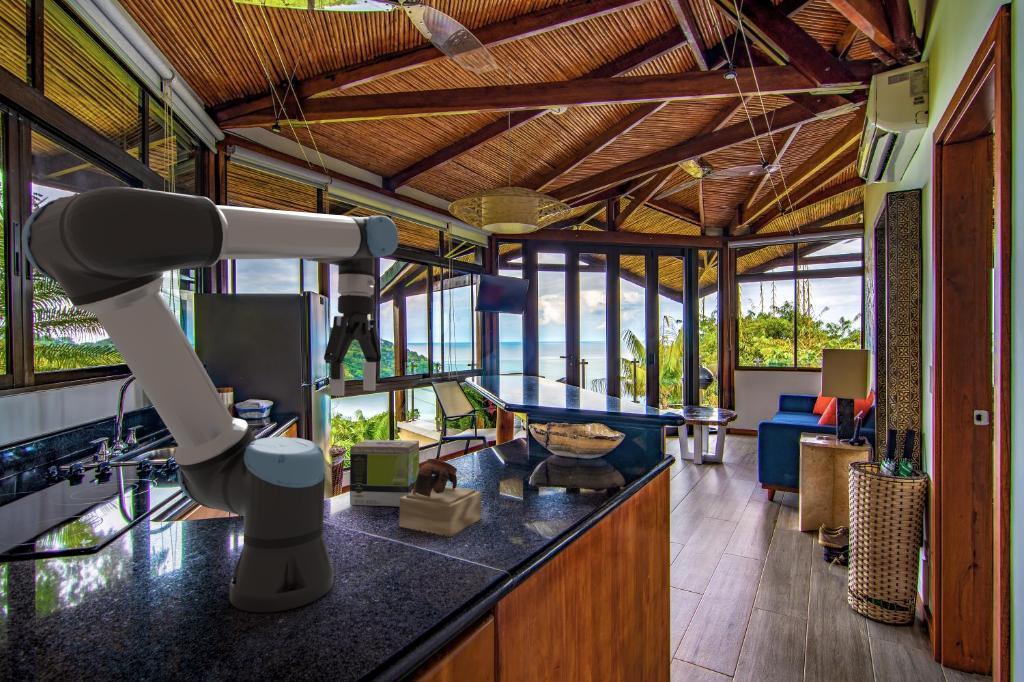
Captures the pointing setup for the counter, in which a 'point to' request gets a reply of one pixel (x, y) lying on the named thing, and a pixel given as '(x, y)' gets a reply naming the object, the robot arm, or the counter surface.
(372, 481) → the tea box
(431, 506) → the wooden box
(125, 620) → the counter surface
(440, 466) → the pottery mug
